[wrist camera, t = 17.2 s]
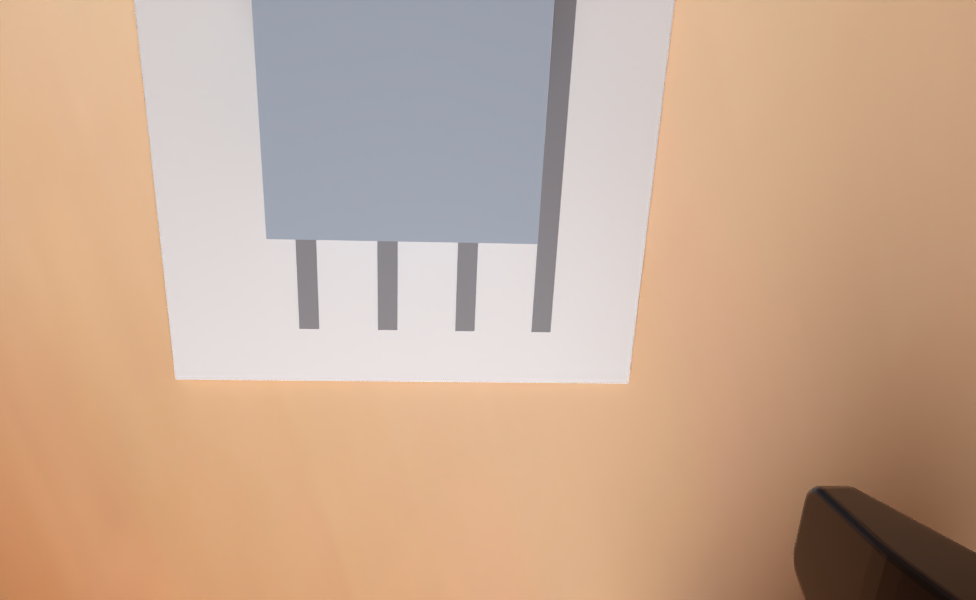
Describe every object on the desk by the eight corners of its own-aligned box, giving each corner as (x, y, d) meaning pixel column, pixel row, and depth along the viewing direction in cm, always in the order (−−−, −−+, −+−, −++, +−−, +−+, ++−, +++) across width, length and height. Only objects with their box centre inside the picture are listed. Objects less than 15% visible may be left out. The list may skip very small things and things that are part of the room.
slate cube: (513, 180, 20) (537, 243, 15) (304, 174, 20) (266, 239, 15) (524, -42, 18) (556, -45, 14) (294, -53, 18) (247, -60, 13)
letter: (626, 378, 23) (628, 383, 22) (178, 374, 22) (175, 379, 22) (709, -325, 17) (714, -330, 16) (99, -371, 16) (92, -378, 16)
